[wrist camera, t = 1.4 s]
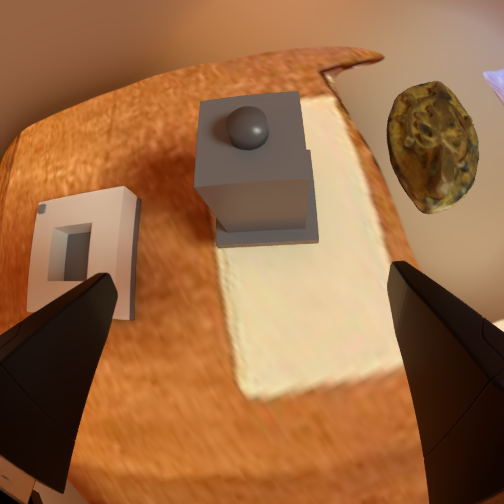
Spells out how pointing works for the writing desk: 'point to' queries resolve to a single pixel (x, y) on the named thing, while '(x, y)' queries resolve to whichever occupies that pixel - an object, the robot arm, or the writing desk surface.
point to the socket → (85, 246)
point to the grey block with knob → (256, 170)
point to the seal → (432, 146)
